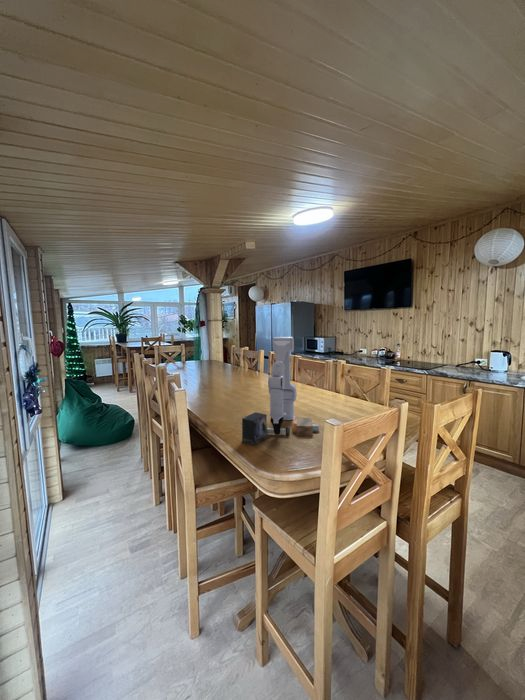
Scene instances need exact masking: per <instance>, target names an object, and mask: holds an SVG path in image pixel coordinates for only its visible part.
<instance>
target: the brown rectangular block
mask: <svg viewBox="0 0 525 700" xmlns="http://www.w3.org/2000/svg"><path fill="white" fill-rule="evenodd" d="M312 425H313V433H319V432H320V428H319V427H320V426H319V423H312ZM292 432H293V434H297V419H295V420H292Z"/></svg>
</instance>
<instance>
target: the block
mask: <svg viewBox="0 0 525 700" xmlns="http://www.w3.org/2000/svg"><path fill="white" fill-rule="evenodd" d="M296 420H297V433H296V436H314V432H313V425H312V424H313V420H312V417H296Z"/></svg>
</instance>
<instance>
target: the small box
mask: <svg viewBox="0 0 525 700" xmlns="http://www.w3.org/2000/svg"><path fill="white" fill-rule="evenodd" d="M267 419H268V415H267V414H266V413H261V412H256V411H255V412H253V413H250V414H249V415H246V416H244V417H242V418H241V429H242V431H241V433H242V434H241V435H242V436H241V439H242V441H241V442H242V443H245V444H249V445H252V446H255V445H256V444H258V443H259V442H261V441H263V440H264V439H266V438H268V434H267V428H268V427H267V425H268V423H267ZM262 439H263V440H262Z"/></svg>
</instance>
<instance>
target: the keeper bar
mask: <svg viewBox="0 0 525 700" xmlns="http://www.w3.org/2000/svg"><path fill="white" fill-rule="evenodd" d="M269 434H270V435H271V434H272V435H275V433H274V429H273V427H271V428H269V427H267V435H269ZM280 435H286V428H281V430H280Z"/></svg>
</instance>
